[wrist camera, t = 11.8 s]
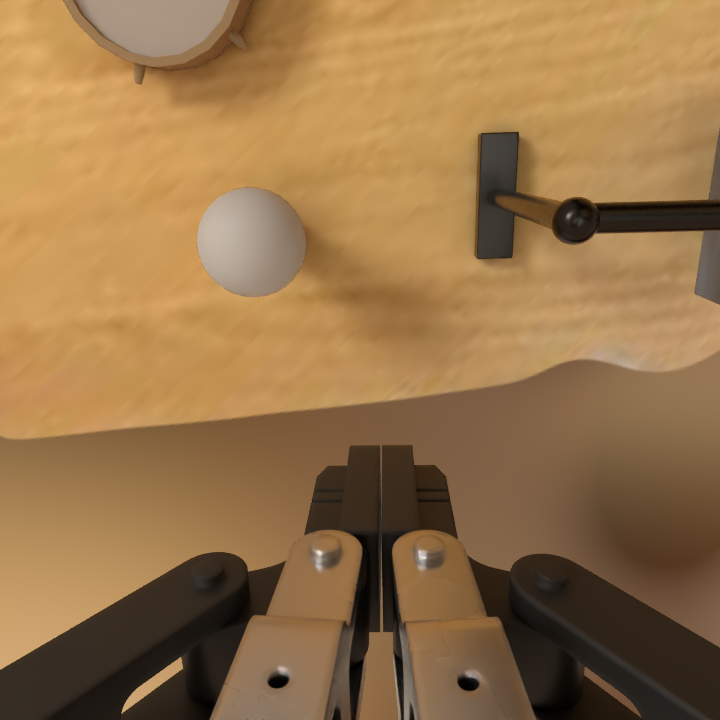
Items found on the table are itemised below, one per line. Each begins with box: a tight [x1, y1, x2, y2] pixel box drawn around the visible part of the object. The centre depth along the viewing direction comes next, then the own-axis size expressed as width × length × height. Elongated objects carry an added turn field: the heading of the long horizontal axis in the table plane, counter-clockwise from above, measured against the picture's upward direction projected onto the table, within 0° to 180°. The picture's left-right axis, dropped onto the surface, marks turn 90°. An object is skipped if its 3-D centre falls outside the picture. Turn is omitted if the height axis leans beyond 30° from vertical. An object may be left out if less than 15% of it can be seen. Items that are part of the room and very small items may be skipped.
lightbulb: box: [197, 187, 306, 297], centre depth 36 cm, size 6×6×11 cm
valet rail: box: [475, 132, 720, 259], centre depth 30 cm, size 18×8×19 cm, turn 92°
